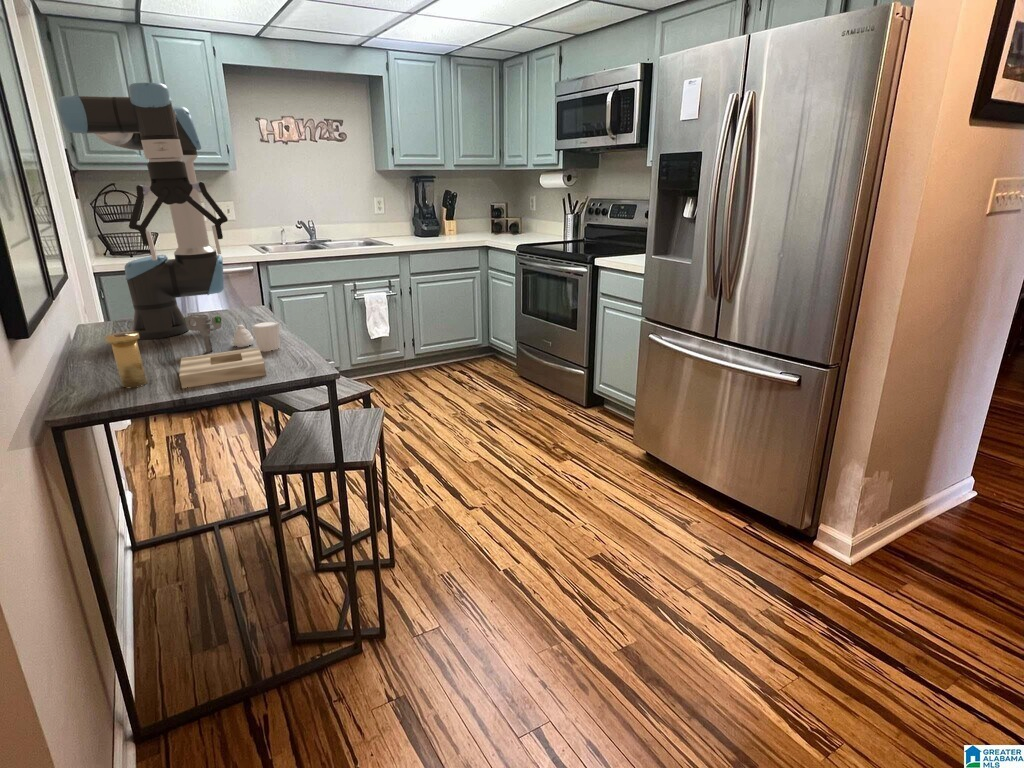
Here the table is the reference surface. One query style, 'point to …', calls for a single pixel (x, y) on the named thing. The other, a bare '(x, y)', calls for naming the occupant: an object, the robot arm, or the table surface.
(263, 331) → the white cup
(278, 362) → the table surface
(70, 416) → the table surface
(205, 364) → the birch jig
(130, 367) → the brass sleeve
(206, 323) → the mechanical component
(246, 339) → the garlic bulb
